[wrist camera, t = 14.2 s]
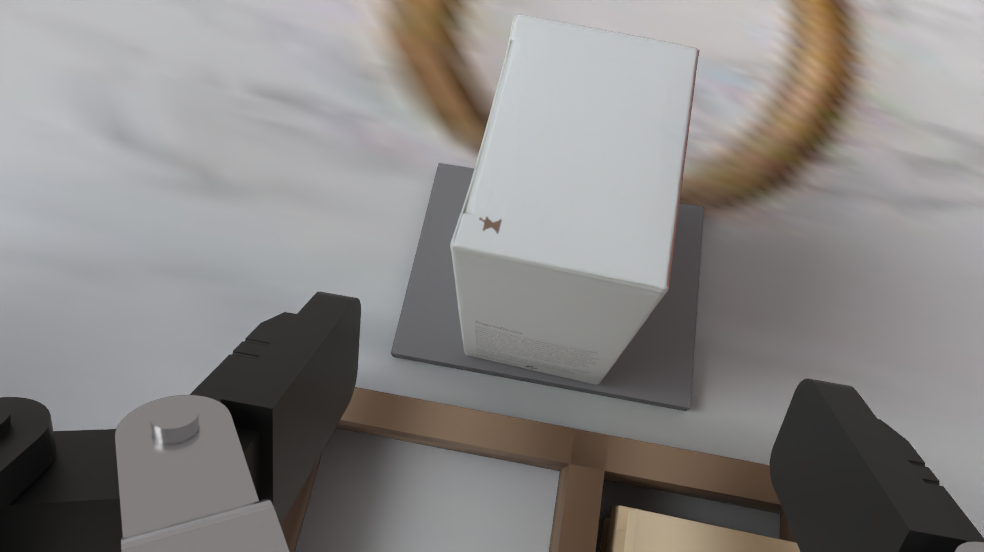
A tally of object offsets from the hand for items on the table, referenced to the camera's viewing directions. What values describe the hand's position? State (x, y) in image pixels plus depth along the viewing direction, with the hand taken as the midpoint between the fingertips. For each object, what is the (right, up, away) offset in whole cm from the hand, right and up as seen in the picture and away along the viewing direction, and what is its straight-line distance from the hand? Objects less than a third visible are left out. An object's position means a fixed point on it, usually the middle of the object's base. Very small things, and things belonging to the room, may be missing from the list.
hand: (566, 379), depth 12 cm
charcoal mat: (+1, +2, +16) cm, 16 cm away
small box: (+1, +2, +15) cm, 15 cm away
